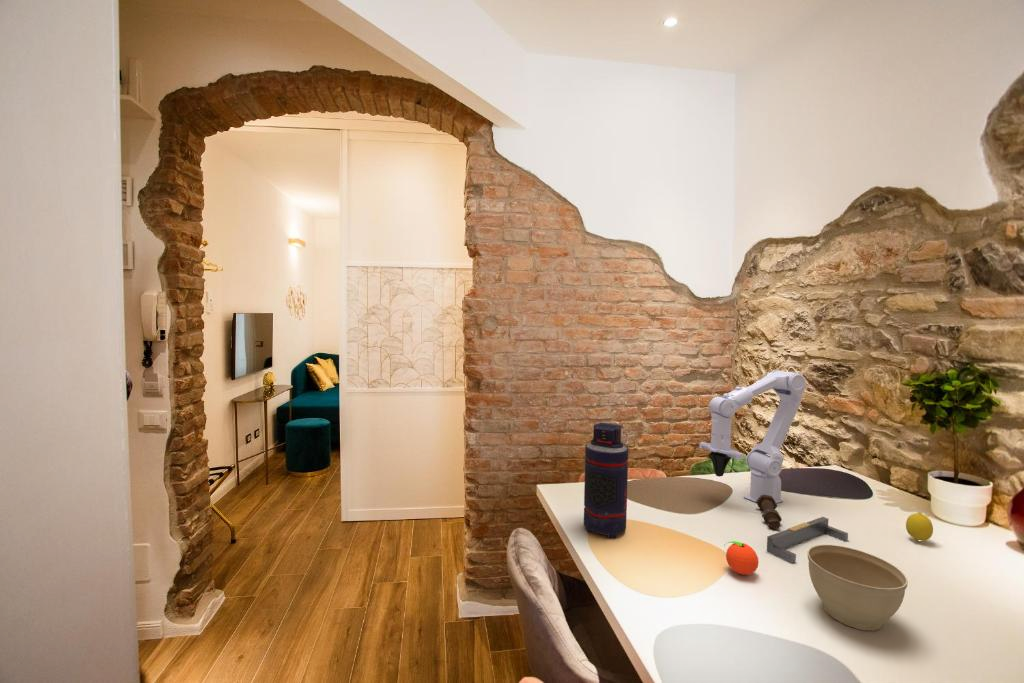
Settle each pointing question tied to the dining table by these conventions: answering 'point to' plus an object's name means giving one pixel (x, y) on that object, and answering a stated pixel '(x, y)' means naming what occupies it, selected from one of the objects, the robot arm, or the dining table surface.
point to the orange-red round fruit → (742, 558)
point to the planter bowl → (856, 585)
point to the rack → (800, 537)
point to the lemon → (919, 526)
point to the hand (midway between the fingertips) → (719, 475)
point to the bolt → (769, 511)
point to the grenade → (606, 481)
